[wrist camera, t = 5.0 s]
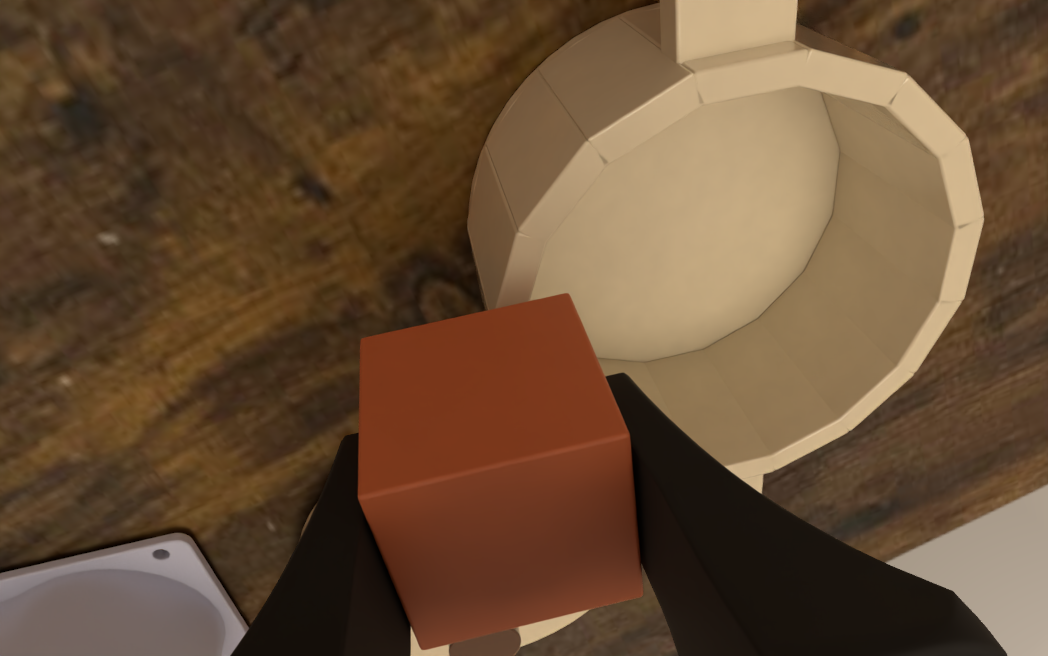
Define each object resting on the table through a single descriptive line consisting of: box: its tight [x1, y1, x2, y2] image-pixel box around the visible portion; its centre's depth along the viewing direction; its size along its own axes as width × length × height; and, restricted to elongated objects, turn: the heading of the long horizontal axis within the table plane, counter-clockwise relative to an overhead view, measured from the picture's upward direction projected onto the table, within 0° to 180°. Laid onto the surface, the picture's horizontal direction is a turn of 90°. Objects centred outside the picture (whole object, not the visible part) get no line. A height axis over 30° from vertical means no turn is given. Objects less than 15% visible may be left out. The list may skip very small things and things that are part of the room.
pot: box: [467, 0, 984, 494], centre depth 19 cm, size 11×17×6 cm
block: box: [358, 293, 643, 650], centre depth 13 cm, size 4×4×4 cm
